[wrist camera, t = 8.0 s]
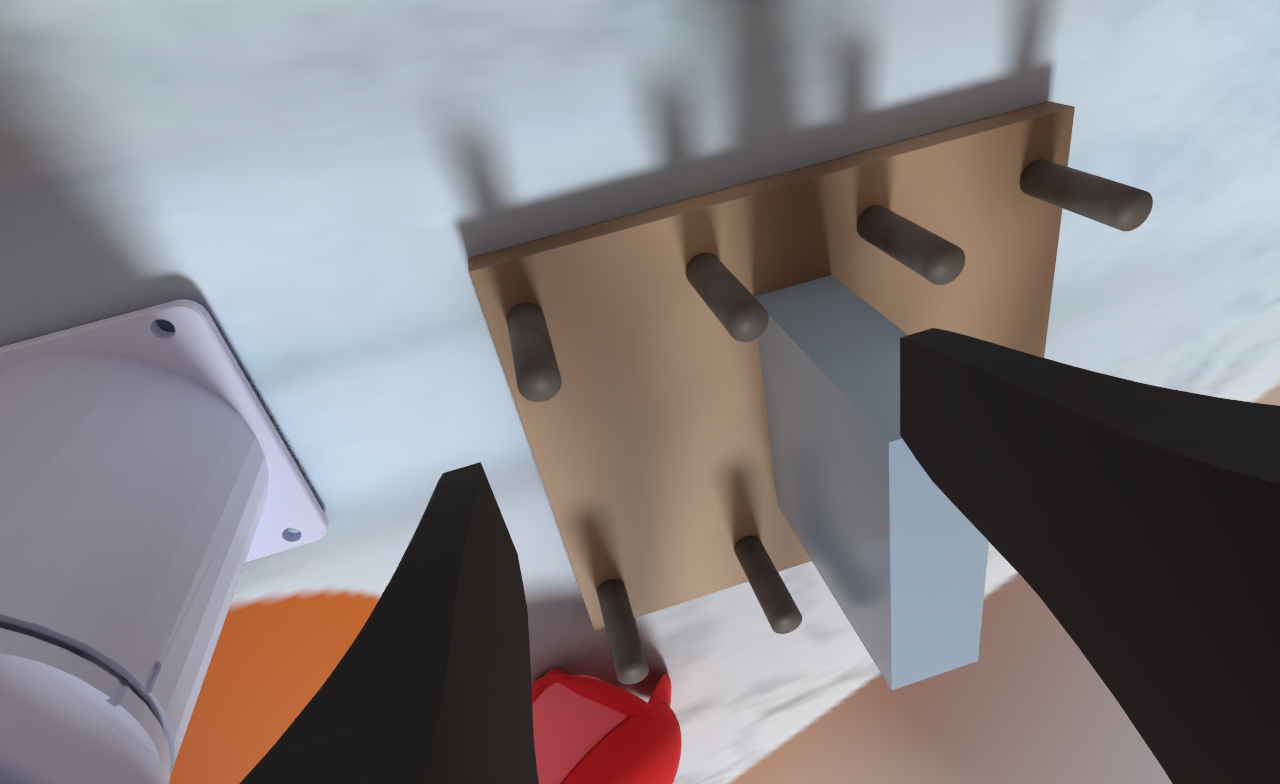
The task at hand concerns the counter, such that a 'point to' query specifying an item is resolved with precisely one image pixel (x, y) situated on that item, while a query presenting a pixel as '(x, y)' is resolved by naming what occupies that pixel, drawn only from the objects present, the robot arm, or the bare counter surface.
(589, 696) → the red toy figurine
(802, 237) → the rack
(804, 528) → the tile
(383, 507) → the counter surface
